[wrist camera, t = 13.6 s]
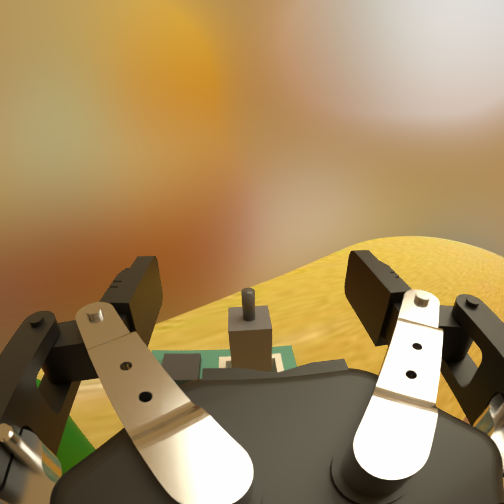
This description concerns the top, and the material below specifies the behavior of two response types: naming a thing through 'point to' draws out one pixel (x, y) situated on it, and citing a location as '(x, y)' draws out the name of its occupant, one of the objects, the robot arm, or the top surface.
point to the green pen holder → (72, 445)
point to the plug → (250, 334)
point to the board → (212, 362)
